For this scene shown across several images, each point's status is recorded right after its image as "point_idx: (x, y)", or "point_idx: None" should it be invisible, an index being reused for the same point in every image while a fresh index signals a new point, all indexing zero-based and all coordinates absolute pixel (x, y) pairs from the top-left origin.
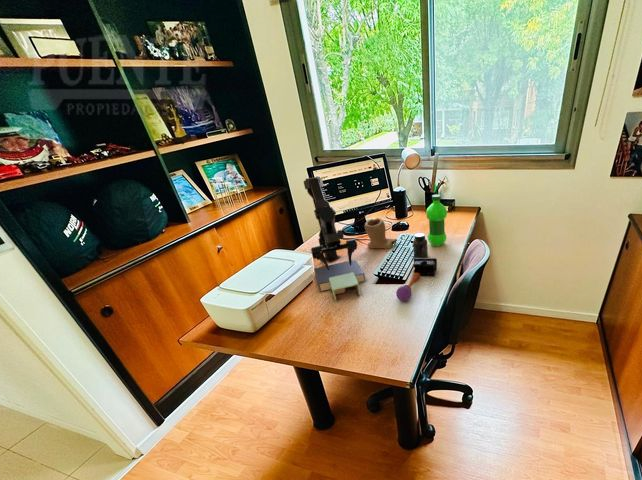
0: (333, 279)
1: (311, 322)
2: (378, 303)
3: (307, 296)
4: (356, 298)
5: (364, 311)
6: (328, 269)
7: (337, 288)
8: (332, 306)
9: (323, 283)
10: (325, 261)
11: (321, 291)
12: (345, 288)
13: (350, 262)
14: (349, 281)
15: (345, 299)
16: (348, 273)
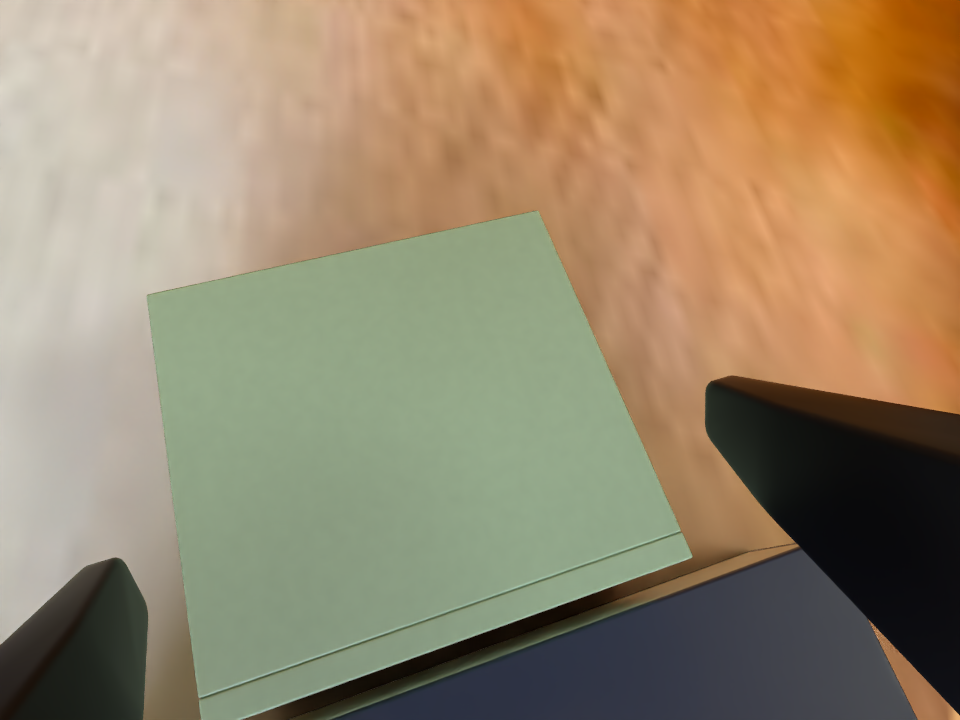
0: (589, 485)
1: (662, 45)
2: (27, 172)
3: None
4: None
5: (199, 83)
6: (724, 378)
7: (477, 229)
8: None
9: (755, 560)
10: (947, 441)
11: (744, 553)
12: None
13: (71, 593)
14: (295, 378)
15: None
16: (309, 683)
